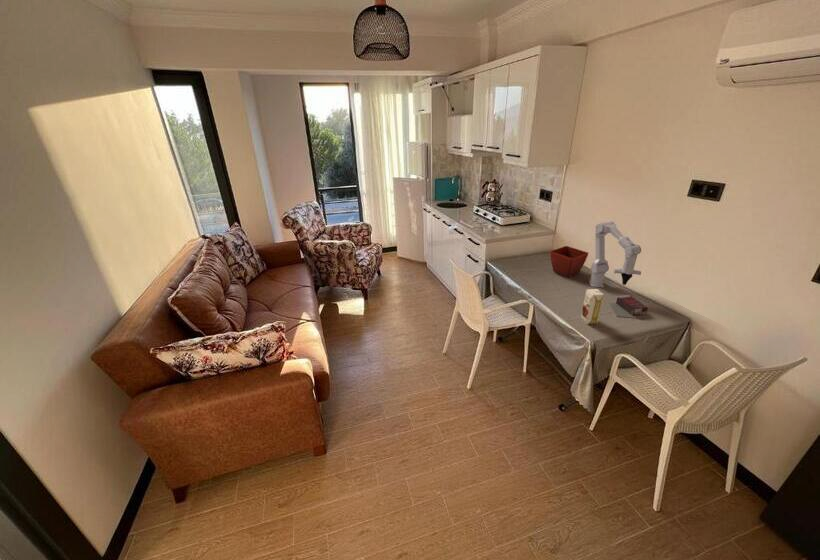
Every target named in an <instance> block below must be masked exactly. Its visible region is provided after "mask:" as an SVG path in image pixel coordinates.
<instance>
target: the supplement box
mask: <svg viewBox="0 0 820 560" xmlns="http://www.w3.org/2000/svg"><path fill="white" fill-rule="evenodd" d="M614 303H617V304H618V305H619V306H621V307H622V308H623V309H625V310H626V311H627V312H629V313H630V314H631V315H633V316H634V315H641V316H644V315H647V313H648V309H649V307H648V306H646V305H644V304H643V303H642V302H640V301H639V300H637V299H636V298H634V297H633V296H631V295H629V294H628V295H617V296H616V298H615V302H614Z"/></svg>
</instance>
